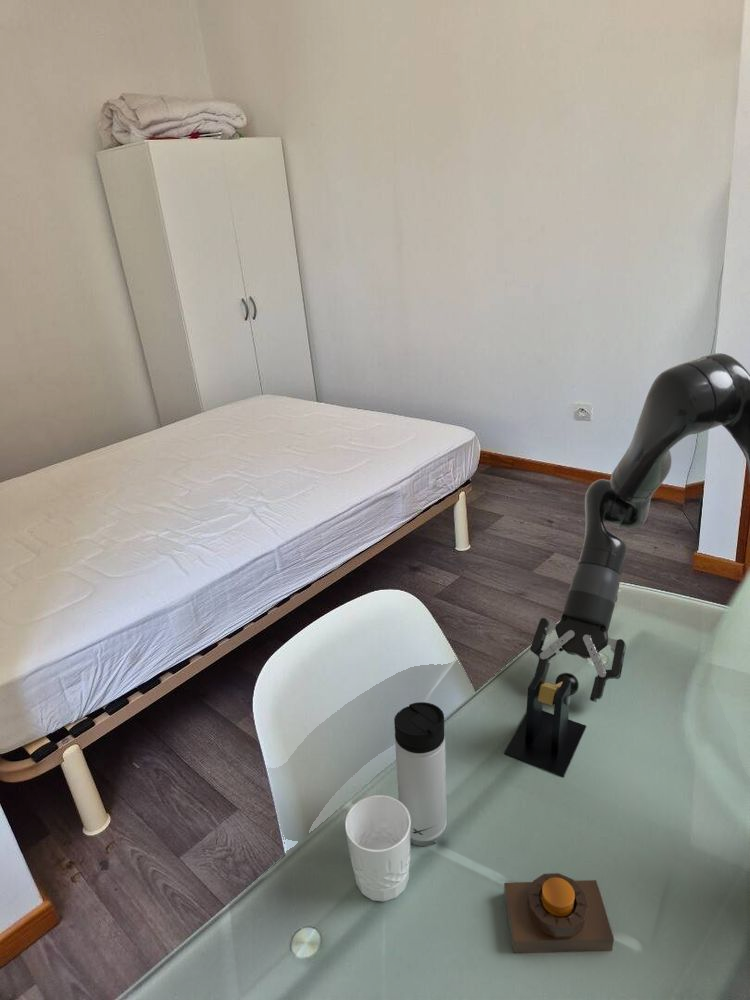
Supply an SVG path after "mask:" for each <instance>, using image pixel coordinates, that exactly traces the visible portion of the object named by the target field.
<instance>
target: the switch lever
mask: <svg viewBox="0 0 750 1000" xmlns="http://www.w3.org/2000/svg"><path fill="white" fill-rule="evenodd" d="M564 679H568V680H571V690H570V696H571V697H572V696H573V695H575V694H576V693H577V692H578V690H579V687H580V682H579V679H578V678H577V677H576V676H575V675H574V674H573V673H570V672H562V673H560V674H558V675H557V677H556V679H555V682H554V683H555V684H553V683H550V682H544V684H542V685H541V687H540V691H539V696H538V701H540V702H543V704H546V705H549V706H552V707H553V706H554V703H555V696H556V694H557V692H558V690H559V688H560V687H561V685H562V683H563V681H564Z"/></svg>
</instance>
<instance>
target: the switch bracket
mask: <svg viewBox="0 0 750 1000" xmlns="http://www.w3.org/2000/svg"><path fill="white" fill-rule="evenodd" d="M535 673H536V672H535ZM544 683H545V682H544V672H542V671H539V670H538V671H537V673H536V675H535V674H534V676H533V678H532V680H531V681H530V682H529V684H528V685H527V694H526V695H527V696H526V713H525V715H524V717H523V718H522V719H521V722H520V724H519V725H518V727H517V729H516V731H515V732H514V734H513V736H512V738H511V739H510V742H509V743H508V745H507V747H506V748H505V750H504V752H503V754H504V755H505V756H507V757H510V758H513V759H515V760H518V761H521V762H523V763H526V764H528V765H531V766H533V767H536V768H538V769H541V770H544V771H547V772H548V773H551V774H554V775H556V776H559V777H562V778H564V777H565V775H566V773H567V771H568V769H569V767H570V765H571V762H572V760H573V758H574V756H575V753H576V751H577V749H578V747H579V744H580V742H581V740H582V738H583V735H584V734H585V731H586V729H587V725H586V724H583V723H581V722H577V721H575V720H571V719H569V714H570V713H569V712H570V703H571V699H572V695H571V696H570V690H571V680H568V679H564V681H563V683H562V685H561V687H560V688H559V690H558V692H557V694H556V696H555V703H554V705H553V713H552V712H549V711H545V710H543V704H544V703H543V702H540V701H538V696H539V691H540V687H541V685H542V684H544Z"/></svg>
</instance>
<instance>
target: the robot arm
mask: <svg viewBox="0 0 750 1000" xmlns="http://www.w3.org/2000/svg"><path fill="white" fill-rule="evenodd" d="M719 426H722V427H723V428H724V429H725V430H726V431H727V432H728V433H729V435H730V436H731V437H732V438H733V439H734V441H735V443H736V444H737V446H738V448H739V449H740V450H741V452H742V454H743V457H744V458H745V461H746V464H747V470H748V478H749V479H748V481H749V482H748V483H749V484H750V372H749V371H748V370H747V369H746V368H745V366H743V365H742V364H741V363H740V362H739V361H738V360H737V359H735V358H734V357H733V356H731V355H729V354H726V353H722V352H718V353H710V354H707V355H703V356H701V357H698V358H695V359H691V360H688V361H686V362H683V363H680V364H677V365H674V366H671V367H670V368H667V369H665V370H663V371H662V372H661V373H659V374H658V375H657V376H656V378H655V379H654V381H653V382H652V384H651V386H650V388H649V390H648V392H647V395H646V398H645V401H644V403H643V407H642V409H641V412H640V415H639V418H638V422H637V424H636V427H635V430H634V433H633V437H632V439H631V442H630V444H629V446H628V448H627V449H626V451H625V453H624V454H623V456H621V459H620V460H619V462H618V464H617V465H616V467H615V468H614V469H613V471H612V472H611V474H610V479H605V478H601V479H596V480H595V481H594V482H592V483H591V484H590V485H589V486H588V488H587V490H586V492H585V496H584V537H583V544H582V548H581V552H580V556H579V559H578V563H577V566H576V569H575V571H574V573H573V575H572V578H571V582H570V585H569V588H568V592H567V595H566V600H565V604H564V607H563V610H562V614H561V618H560V620H559V621H558V623H555V622H553V621H549V620H548V619H546V618H545V617H542V618H540V620H539V621H538V625H537V628H536V631H535V633H534V636H533V639H532V642H531V644H530V648H529V650H530V652H531V653H533V654H534V655H536V656H537V657H538V663H537V666H536V668H535V669H536V670H535V673H534V676H535V675H536V673H537V671H538V670H539V671H542V672H544V683H546V679H547V675H548V670H549V667H550V662H549V661H550V660H552V659H554V658H555V657H556V656H558V655H560V654H562V653H563V652H565V653H567V654H569V655H571V656H578V657H580V658H582V659H586V660H587V659H590V660H591V661H592V663H593V665H594V668H595V670H596V672H597V676H595V677H594V681H593V684H592V685H593V686H592V689H591V694H590V697H589V700H590V701H591V702H593V703H596V702H597V700H601V699H602V698H603V694H604V690H605V688H606V683H607V681H608V680H613V679H614V680H619V679H620V678H621V676H622V670H623V665H624V659H625V656H626V655H625V654H626V649H627V644H626V642H625V640H624V639H621V638H619V639H615V638H610V637H609V629H610V625H611V621H612V617H613V614H614V609H615V605H616V603H617V600H618V594H619V592H620V591H619V590H620V584H621V583H620V582H621V576H622V573H623V569H624V565H625V561H626V557H627V553H628V546H627V544H626V542H625V541H624V540H622V539H621V538H620V537H617V536H616V535H614V534H613V533H612V532H610V531H608V529H607V528H606V526H605V523H606V524H609V525H611V526H614V527H615V526H616V527H618V528H622V529H625V530H635V529H639V528H640V527H642V526H643V525H644V524H645V523H646V521H647V519H648V516H649V512H650V507H651V500H652V497H653V495H654V494H655V492H656V491H657V490H658V489H659V488H660V486H661V485H662V484H663V482H664V481H665V480H666V478H667V477H668V475H669V473H670V471H671V467H672V454H671V451H670V450H671V449H672V448H673V447H674V446H676V445H677V444H678V443H679V442H681V441H682V440H683V439H684V438H686V437H688V436H690V435H697V434H701V433H703V432H706V431H709V430H711V429H714V428H717V427H719ZM553 631H555V634H556V635H557V639H556V640H555V641H553V642H552V643H551V644H550V645H549V646H548V647H546V649H544V650H542V649H543V646H544V644H545V640H546V638H547V635H550V634H552V632H553ZM608 645H609V646H610V651H611V653H613V659H612V663H611V669H606V667H605V664H604V661H603V660H602V657H601V655H600V652H601V651H602V650H604V649H605V648H606V647H607V646H608Z"/></svg>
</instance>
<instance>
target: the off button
mask: <svg viewBox="0 0 750 1000" xmlns="http://www.w3.org/2000/svg"><path fill="white" fill-rule="evenodd" d="M574 899H575V893H574V890H573V888H572V886H571V885H570V884H569V883H568V882H567V881H566V880H564V879H561V878H550V879H548V880H546V881H545V883H544V884H543V887H542V897H541V900H542V904H543V906H544V908H545V909H546V910H547V911H548V912H549V913H550V914H552V915H554V916H557V917H564V916H567V915H569V914H570V913H571V912H572V910H573V908H574Z"/></svg>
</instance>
